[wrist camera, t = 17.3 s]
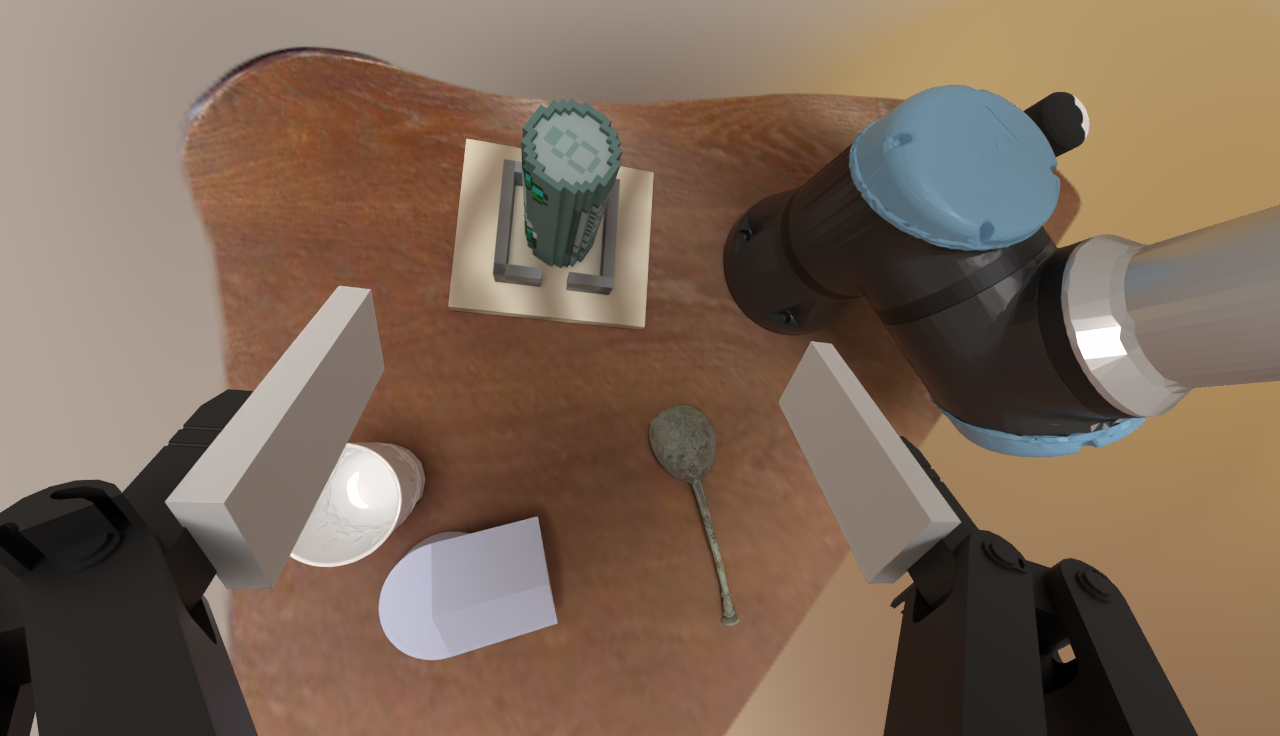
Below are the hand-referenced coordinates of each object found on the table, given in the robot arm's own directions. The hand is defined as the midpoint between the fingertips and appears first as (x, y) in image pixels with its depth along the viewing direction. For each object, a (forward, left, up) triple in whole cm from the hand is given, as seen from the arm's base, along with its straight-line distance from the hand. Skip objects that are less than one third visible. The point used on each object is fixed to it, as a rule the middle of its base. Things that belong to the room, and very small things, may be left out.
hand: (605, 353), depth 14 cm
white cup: (+16, 0, -31) cm, 35 cm away
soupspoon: (-8, +17, -31) cm, 36 cm away
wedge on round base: (+14, +11, -31) cm, 35 cm away
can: (-7, -14, -29) cm, 33 cm away
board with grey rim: (-7, -14, -30) cm, 34 cm away
